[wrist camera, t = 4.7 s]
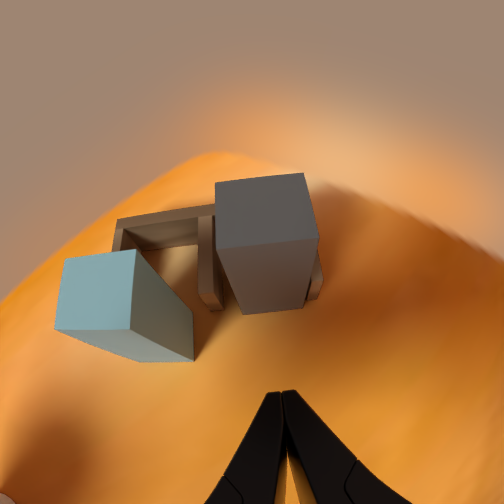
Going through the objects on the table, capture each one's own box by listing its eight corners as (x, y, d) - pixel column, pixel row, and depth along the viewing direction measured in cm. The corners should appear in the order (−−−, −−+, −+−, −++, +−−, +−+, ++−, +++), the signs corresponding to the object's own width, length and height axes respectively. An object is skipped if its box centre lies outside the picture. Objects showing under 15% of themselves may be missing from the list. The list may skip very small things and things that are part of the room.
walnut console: (316, 299, 17) (323, 279, 14) (128, 316, 17) (105, 301, 15) (301, 221, 20) (304, 193, 17) (135, 242, 20) (117, 219, 17)
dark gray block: (302, 308, 17) (319, 237, 10) (242, 314, 17) (215, 249, 10) (295, 262, 18) (303, 172, 11) (239, 268, 18) (214, 182, 11)
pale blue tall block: (194, 361, 16) (129, 329, 9) (139, 362, 16) (54, 329, 9) (192, 312, 17) (136, 248, 10) (140, 315, 17) (65, 258, 10)
